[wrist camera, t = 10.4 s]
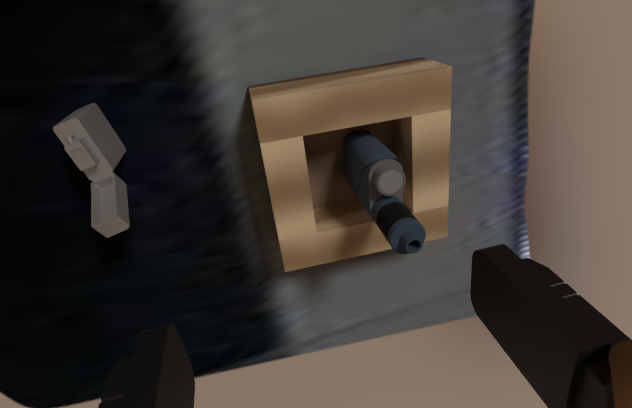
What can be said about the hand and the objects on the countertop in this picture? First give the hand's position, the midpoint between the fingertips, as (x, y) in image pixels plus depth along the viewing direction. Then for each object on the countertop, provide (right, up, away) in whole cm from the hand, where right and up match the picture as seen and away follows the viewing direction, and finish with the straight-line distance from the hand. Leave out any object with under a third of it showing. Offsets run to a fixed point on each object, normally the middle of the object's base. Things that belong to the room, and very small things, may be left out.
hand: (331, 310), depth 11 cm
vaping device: (+3, +7, +24) cm, 25 cm away
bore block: (+2, +7, +25) cm, 26 cm away
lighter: (-16, +7, +21) cm, 27 cm away
